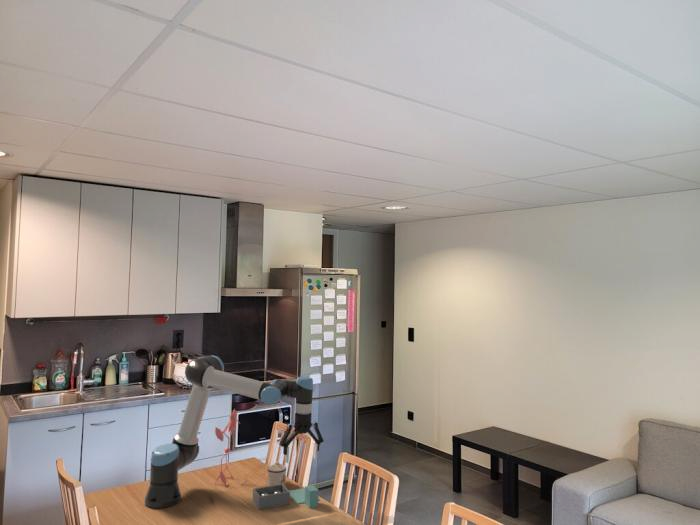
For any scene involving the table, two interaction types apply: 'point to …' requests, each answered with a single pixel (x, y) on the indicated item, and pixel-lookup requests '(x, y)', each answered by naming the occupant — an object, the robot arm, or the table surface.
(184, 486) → the table surface
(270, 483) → the teacup with lid
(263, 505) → the tub
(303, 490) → the lid
